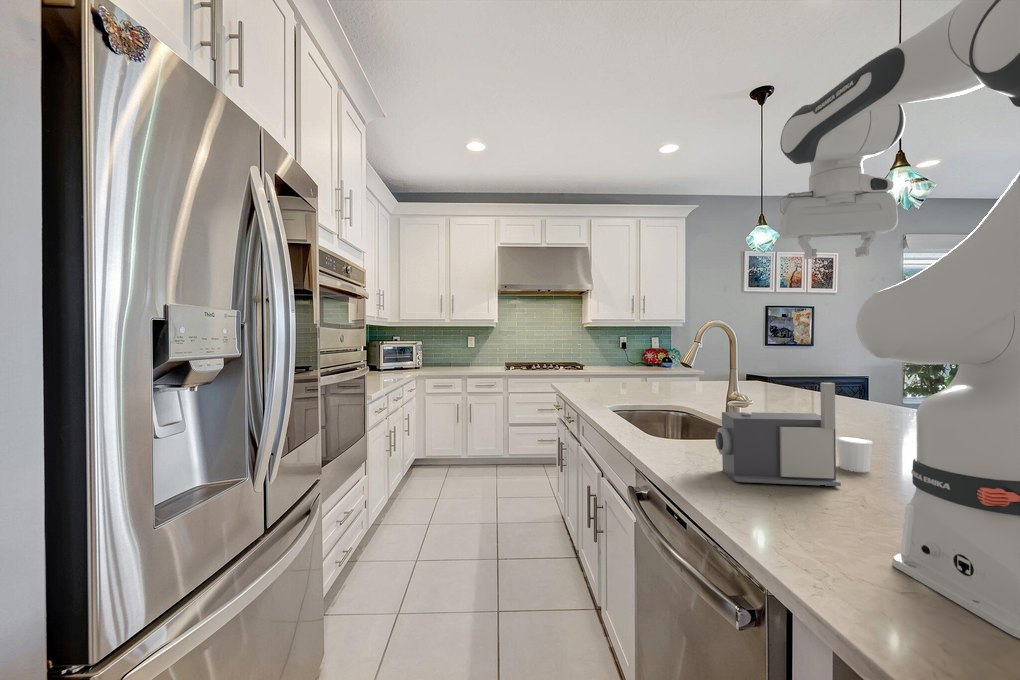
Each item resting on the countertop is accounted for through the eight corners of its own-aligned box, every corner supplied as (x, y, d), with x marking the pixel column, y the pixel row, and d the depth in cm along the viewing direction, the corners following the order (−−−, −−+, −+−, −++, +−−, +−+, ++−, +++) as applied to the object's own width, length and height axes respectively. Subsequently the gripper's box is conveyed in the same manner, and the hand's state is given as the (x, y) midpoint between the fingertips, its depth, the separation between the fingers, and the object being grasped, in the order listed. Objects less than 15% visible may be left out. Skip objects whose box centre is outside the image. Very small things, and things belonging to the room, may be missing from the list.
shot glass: (859, 464, 104) (859, 436, 103) (881, 473, 97) (880, 443, 97) (829, 464, 104) (829, 435, 104) (848, 473, 97) (848, 442, 97)
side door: (835, 479, 87) (834, 383, 87) (783, 477, 89) (781, 383, 89) (832, 477, 89) (830, 382, 89) (780, 475, 90) (779, 382, 90)
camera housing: (840, 489, 87) (840, 418, 87) (726, 484, 91) (725, 416, 91) (815, 473, 97) (814, 410, 97) (713, 470, 101) (712, 409, 101)
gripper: (786, 188, 85) (787, 256, 85) (903, 180, 81) (904, 251, 81) (773, 198, 91) (773, 262, 91) (880, 191, 87) (881, 257, 88)
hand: (836, 257), depth 86 cm, fingers open, 8 cm apart
